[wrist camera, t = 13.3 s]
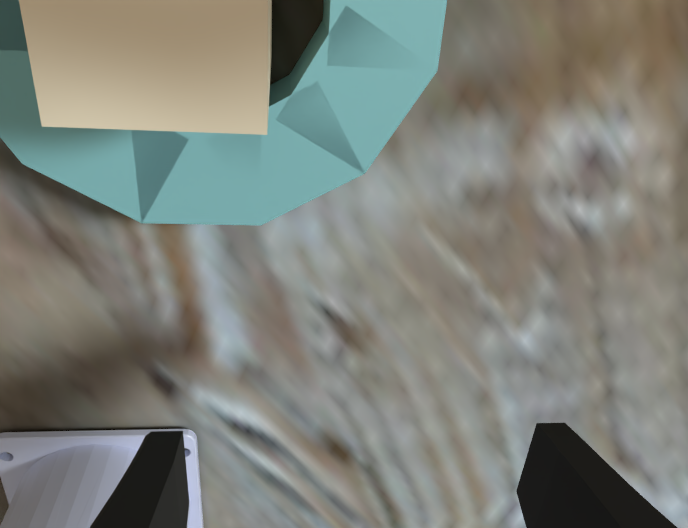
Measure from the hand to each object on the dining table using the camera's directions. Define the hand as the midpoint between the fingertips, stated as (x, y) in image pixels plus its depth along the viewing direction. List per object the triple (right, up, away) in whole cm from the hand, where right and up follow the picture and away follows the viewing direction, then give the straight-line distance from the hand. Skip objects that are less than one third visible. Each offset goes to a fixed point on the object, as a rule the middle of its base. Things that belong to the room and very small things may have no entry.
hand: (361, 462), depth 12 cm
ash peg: (-4, +12, +5) cm, 14 cm away
